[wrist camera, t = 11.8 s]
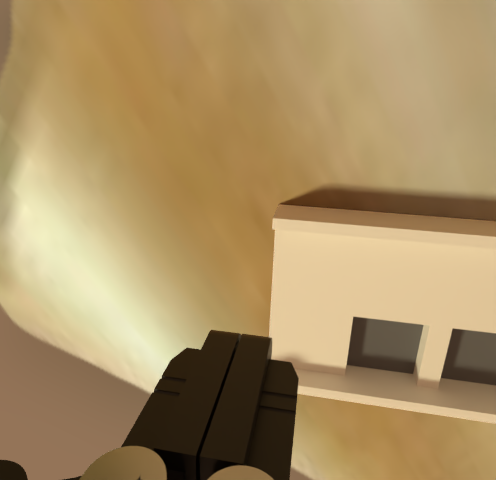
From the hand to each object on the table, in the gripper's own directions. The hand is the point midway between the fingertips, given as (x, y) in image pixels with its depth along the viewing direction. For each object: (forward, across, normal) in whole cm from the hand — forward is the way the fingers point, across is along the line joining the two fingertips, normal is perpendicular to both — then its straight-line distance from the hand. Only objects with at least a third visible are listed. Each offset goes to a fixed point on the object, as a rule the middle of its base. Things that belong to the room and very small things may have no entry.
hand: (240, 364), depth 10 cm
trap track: (+29, -14, +13) cm, 35 cm away
